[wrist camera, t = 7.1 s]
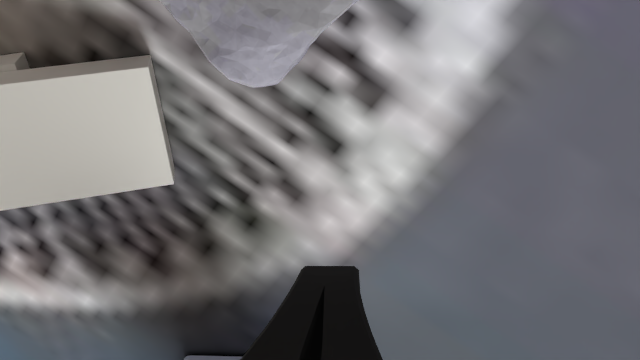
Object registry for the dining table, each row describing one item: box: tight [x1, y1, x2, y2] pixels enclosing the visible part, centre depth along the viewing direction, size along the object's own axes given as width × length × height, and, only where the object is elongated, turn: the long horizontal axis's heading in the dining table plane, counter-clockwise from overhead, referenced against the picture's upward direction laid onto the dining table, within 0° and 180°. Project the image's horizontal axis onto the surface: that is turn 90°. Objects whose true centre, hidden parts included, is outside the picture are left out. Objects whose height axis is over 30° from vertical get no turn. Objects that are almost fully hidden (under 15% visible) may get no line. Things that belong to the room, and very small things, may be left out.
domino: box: [0, 55, 175, 211], centre depth 21 cm, size 5×2×8 cm
